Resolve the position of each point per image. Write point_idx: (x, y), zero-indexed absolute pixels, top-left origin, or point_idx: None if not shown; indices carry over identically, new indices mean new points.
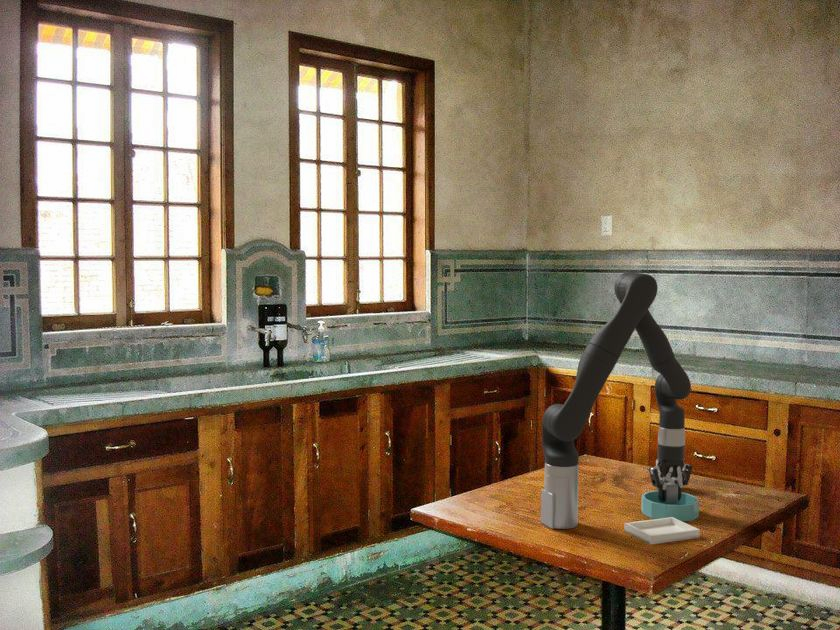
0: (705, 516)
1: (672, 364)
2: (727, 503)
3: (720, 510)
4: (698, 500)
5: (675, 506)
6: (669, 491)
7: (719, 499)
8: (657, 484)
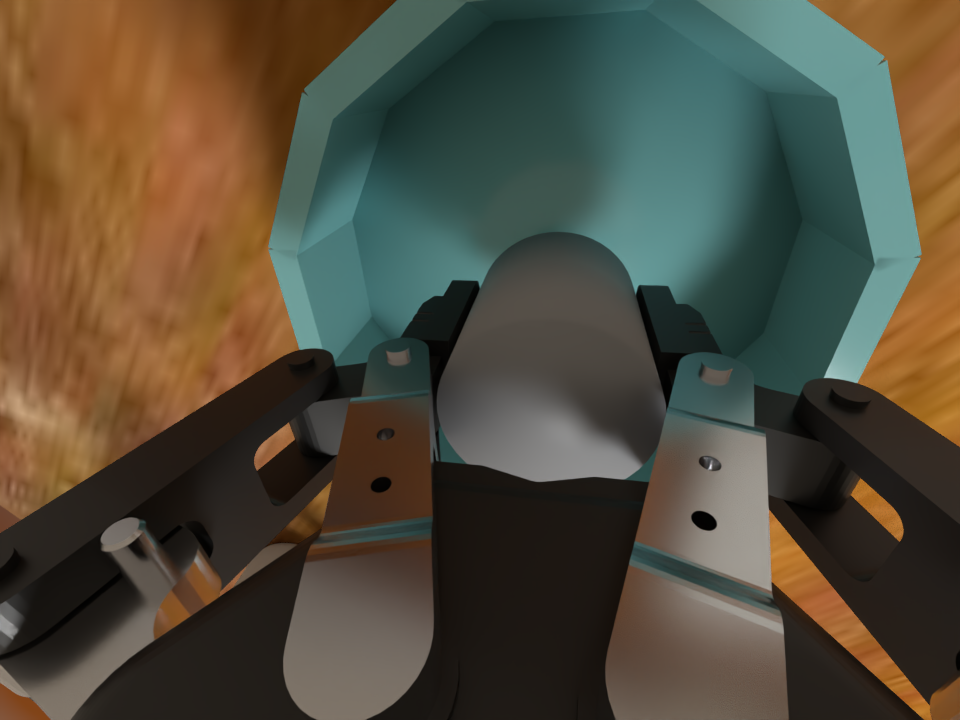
0: (313, 75)
1: None
2: (66, 301)
3: (141, 186)
4: (297, 127)
5: None
6: (626, 315)
7: (101, 375)
8: (912, 425)
